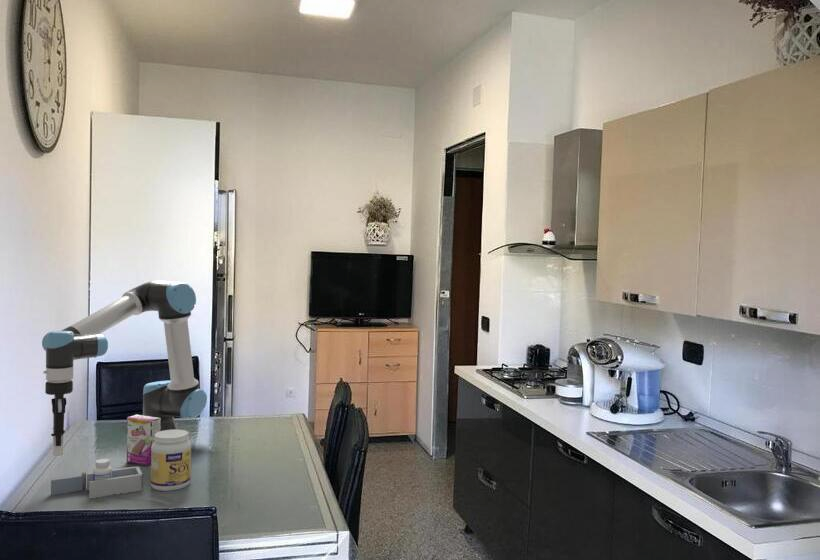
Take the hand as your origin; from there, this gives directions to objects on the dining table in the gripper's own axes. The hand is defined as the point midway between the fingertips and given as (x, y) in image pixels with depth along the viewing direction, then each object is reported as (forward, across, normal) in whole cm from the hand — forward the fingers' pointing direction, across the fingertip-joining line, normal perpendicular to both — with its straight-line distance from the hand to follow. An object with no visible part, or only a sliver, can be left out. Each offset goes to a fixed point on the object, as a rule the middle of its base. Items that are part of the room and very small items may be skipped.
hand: (57, 455), depth 197 cm
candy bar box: (+10, -13, +27) cm, 32 cm away
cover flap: (+10, +5, +3) cm, 12 cm away
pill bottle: (+11, +10, +12) cm, 19 cm away
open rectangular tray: (+10, +10, +15) cm, 21 cm away
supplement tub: (+10, +14, +31) cm, 36 cm away
